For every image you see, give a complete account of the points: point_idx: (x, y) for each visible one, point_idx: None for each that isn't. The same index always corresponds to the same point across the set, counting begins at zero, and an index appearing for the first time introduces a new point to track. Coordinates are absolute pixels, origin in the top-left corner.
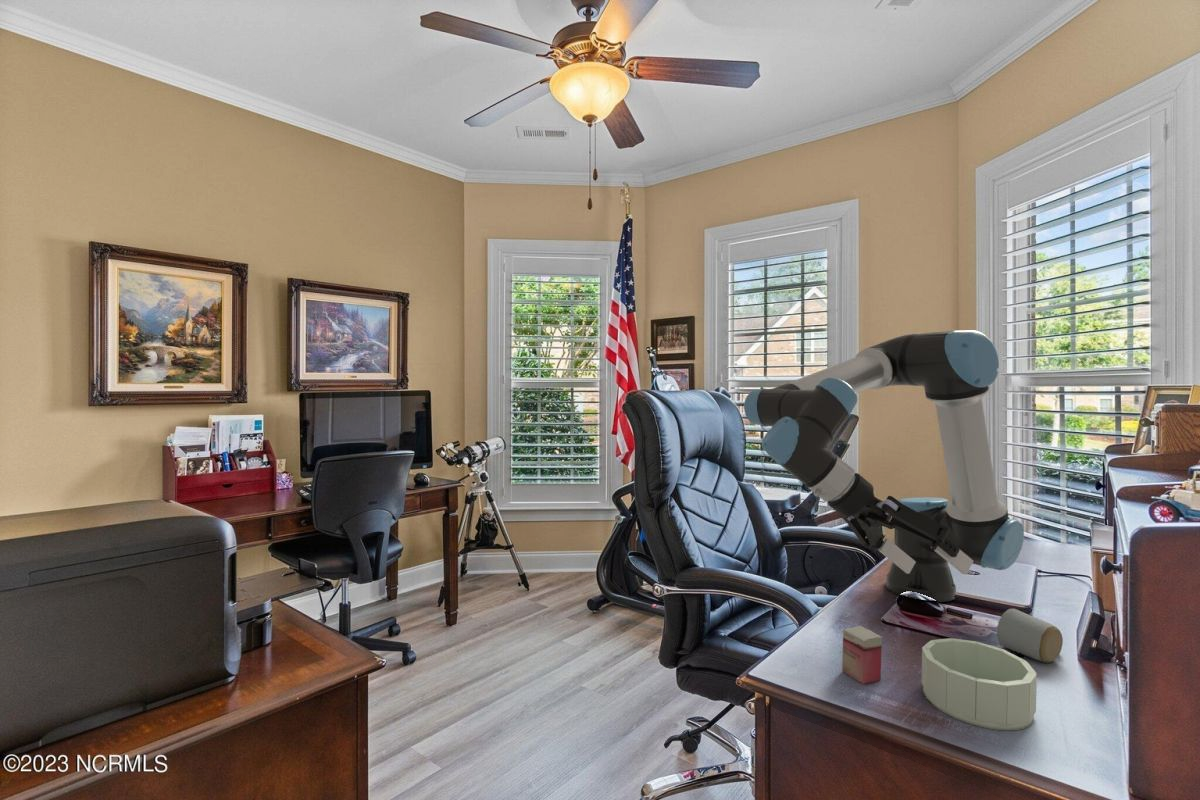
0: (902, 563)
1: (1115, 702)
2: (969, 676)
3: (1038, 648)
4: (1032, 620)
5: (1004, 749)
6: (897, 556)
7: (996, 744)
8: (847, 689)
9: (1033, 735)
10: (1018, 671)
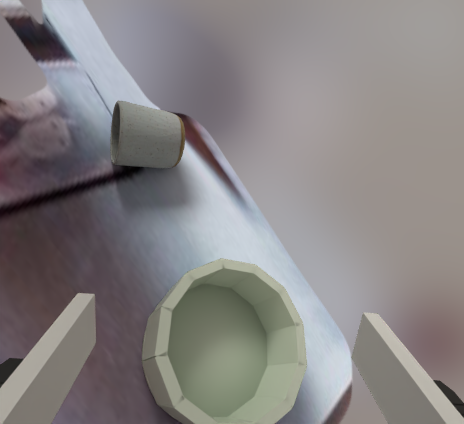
0: (77, 361)
1: (246, 190)
2: (280, 407)
3: (175, 163)
4: (160, 125)
5: (297, 408)
6: (60, 380)
7: None
8: None
9: None
10: (243, 277)
